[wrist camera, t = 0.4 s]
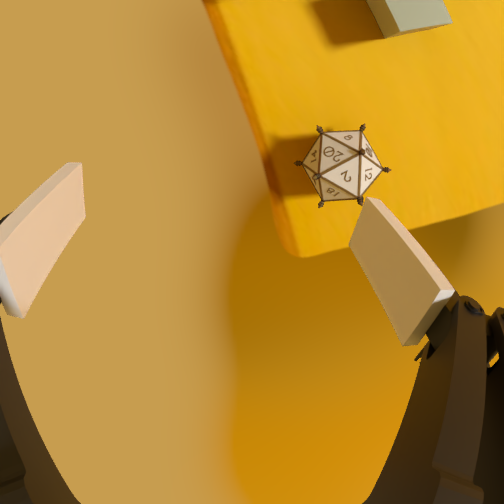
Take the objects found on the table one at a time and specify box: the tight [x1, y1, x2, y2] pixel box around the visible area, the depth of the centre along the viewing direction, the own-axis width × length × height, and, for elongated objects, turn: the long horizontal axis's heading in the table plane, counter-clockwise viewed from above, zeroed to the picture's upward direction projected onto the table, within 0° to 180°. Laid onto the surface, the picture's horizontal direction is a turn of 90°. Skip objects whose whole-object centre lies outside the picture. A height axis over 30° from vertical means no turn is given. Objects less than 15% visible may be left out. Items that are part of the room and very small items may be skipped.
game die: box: [294, 124, 391, 208], centre depth 29 cm, size 9×8×10 cm
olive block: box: [366, 0, 453, 38], centre depth 19 cm, size 6×6×6 cm
